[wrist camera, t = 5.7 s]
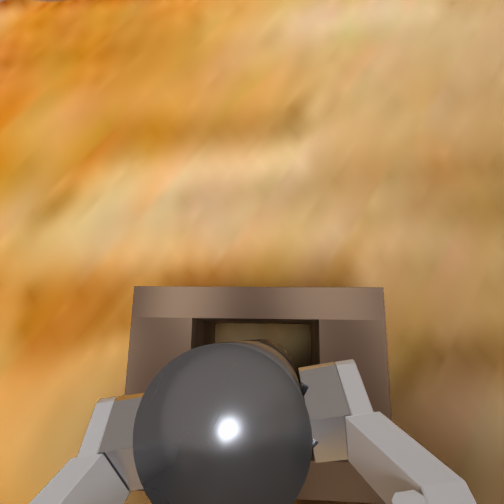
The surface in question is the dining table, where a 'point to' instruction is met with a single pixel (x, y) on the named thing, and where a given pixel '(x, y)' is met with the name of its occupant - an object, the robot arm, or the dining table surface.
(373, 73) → the dining table surface
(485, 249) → the dining table surface
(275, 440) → the steel axle
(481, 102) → the dining table surface
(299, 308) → the walnut hollow rectangular frame
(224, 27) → the dining table surface
